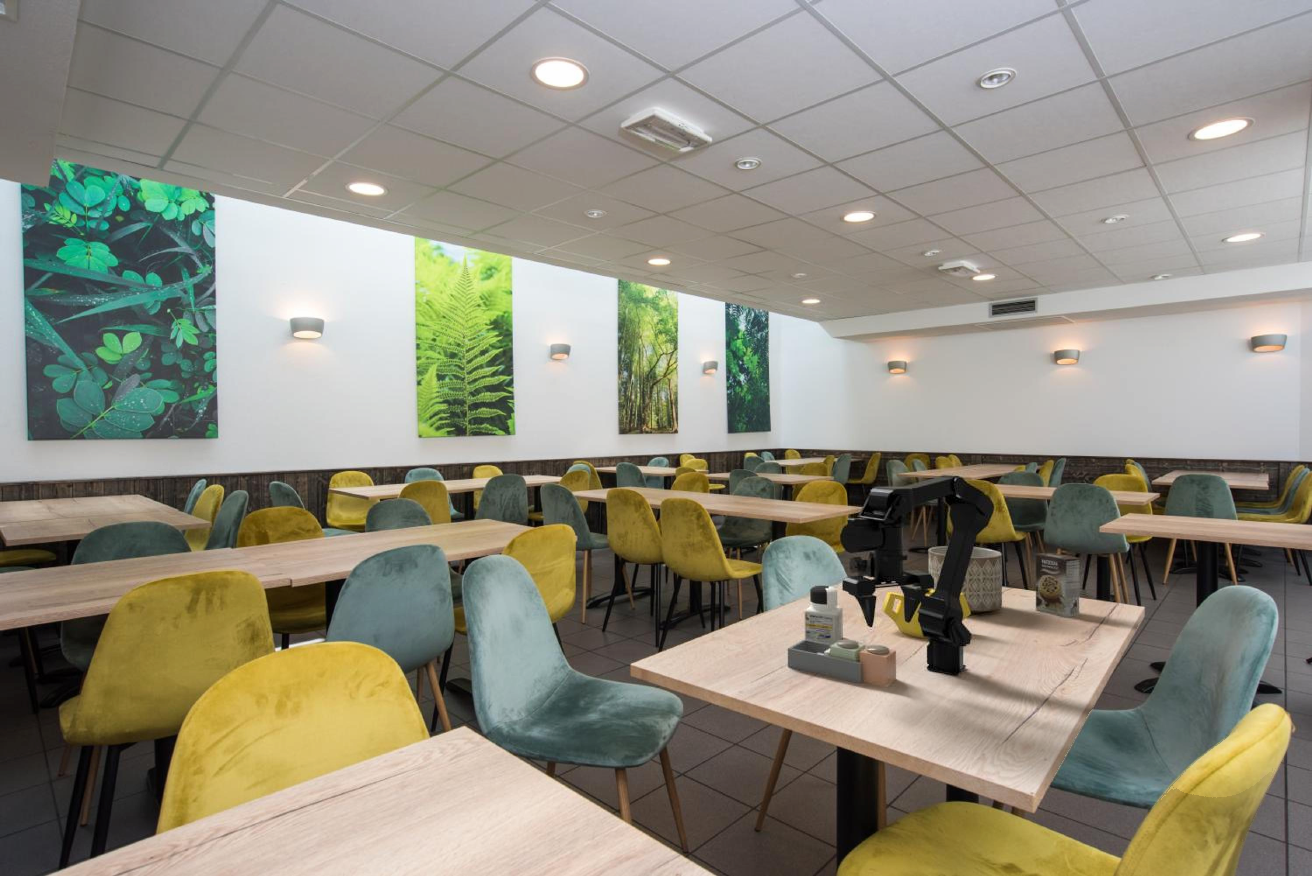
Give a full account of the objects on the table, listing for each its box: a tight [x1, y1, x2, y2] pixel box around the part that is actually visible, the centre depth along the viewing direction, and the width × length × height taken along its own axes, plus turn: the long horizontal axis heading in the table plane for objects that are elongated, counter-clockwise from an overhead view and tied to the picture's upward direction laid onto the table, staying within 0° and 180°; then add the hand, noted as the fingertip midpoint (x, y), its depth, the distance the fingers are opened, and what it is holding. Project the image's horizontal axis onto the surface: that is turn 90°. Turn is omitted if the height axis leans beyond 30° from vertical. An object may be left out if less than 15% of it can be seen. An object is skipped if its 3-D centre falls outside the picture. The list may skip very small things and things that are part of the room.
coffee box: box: [1035, 552, 1081, 618], centre depth 190 cm, size 9×6×16 cm
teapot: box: [881, 589, 972, 639], centre depth 173 cm, size 17×17×12 cm
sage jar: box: [830, 639, 866, 663], centre depth 144 cm, size 6×6×7 cm
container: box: [804, 585, 844, 645], centre depth 167 cm, size 8×8×13 cm
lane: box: [787, 638, 863, 684], centre depth 146 cm, size 16×8×4 cm, turn 52°
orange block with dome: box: [860, 644, 897, 687], centre depth 140 cm, size 6×6×7 cm
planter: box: [928, 545, 1003, 614], centre depth 196 cm, size 19×19×16 cm
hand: (888, 624), depth 138 cm, fingers open, 9 cm apart
